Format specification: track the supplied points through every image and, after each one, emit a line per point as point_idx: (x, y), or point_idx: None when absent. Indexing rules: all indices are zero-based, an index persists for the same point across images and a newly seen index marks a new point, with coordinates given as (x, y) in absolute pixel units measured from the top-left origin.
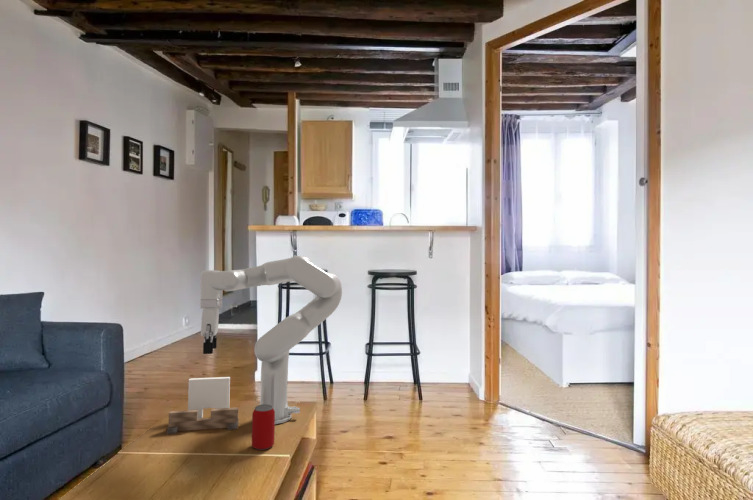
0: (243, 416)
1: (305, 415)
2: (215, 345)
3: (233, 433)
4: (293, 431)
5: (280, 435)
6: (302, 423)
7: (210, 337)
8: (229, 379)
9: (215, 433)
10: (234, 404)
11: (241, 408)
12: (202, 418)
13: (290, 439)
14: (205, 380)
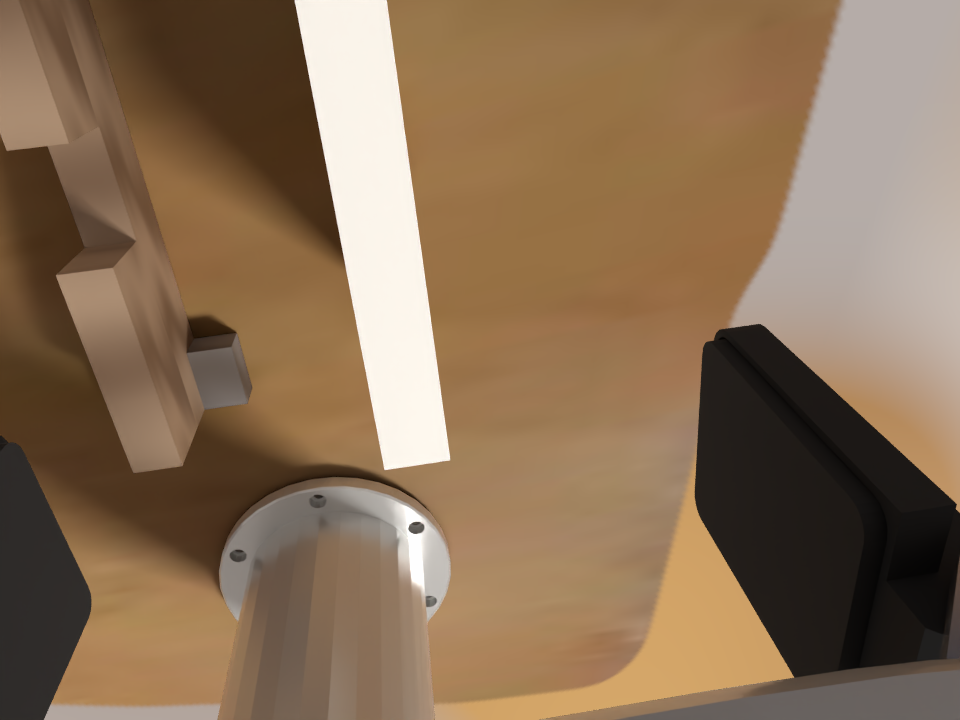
0: None
1: None
2: (720, 546)
3: (45, 401)
4: (133, 682)
5: None
6: None
7: (893, 610)
8: (386, 460)
9: (22, 286)
10: (675, 268)
11: (568, 339)
12: (109, 168)
13: None
14: (333, 197)
